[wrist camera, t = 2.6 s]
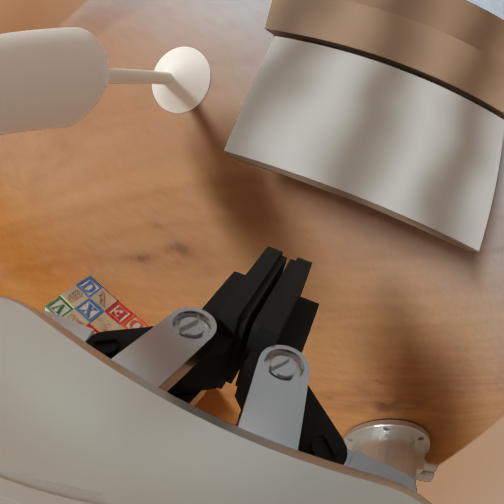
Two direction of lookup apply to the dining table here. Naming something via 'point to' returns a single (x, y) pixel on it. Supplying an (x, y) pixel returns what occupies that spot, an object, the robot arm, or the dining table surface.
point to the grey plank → (372, 138)
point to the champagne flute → (82, 78)
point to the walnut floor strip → (408, 38)
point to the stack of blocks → (94, 308)
